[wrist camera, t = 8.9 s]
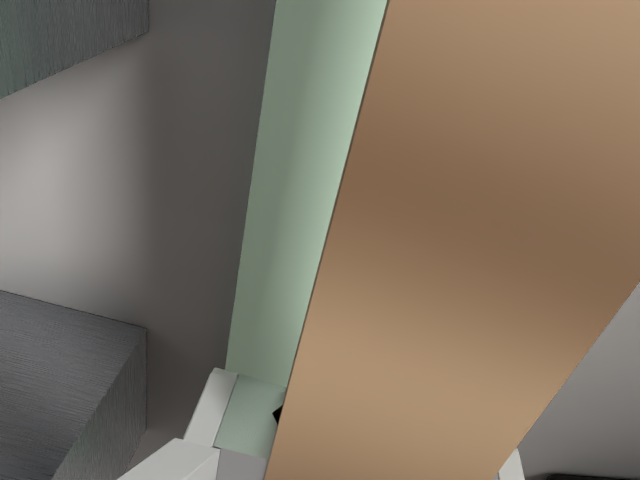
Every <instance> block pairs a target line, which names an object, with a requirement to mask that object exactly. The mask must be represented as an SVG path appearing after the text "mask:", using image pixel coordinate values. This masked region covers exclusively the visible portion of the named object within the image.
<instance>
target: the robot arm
mask: <svg viewBox="0 0 640 480" xmlns="http://www.w3.org/2000/svg"><path fill="white" fill-rule="evenodd" d="M286 390H287V387H284V386H281V385H277V384H274V383H270V382H267V381H263V380H260V379H256V378H253V377H249V376H246V375H242V374H238V373H235V372H231V371H227V370H223V369H220V368H216V367H215V368H214V369H213V371H212V372H211V373H210V375H209V378H208V380H207V382H206V385H205V387H204V390H203V392H202V394H201V397H200V399H199V401H198V404H197V406H196V408H195V411H194V413H193V415H192V418H191V420H190V422H189V425H188V427H187V429H186V432H185V434H184V437H183V439H179V438H173V439H172V440H171V441H169V442H168V443H166V444H165V445H164V446H162V447H161V448H160V449H158V450H157V451H155V452H154V453H153V454H151V455H150V456H148V457H147V458H146V459H144V460H143V461H142V462H140V463H139V464H137V465H136V466H135V467H133V468H132V469H130V470H129V471H128V472H126V473H125V474H124V475H122V476H121V477H119V478H118V479H117V480H264V477H265V474H266V470H267V466H268V462H269V458H270V454H271V450H272V446H273V442H274V438H275V434H276V430H277V426H278V421H279V417H280V414H281V410H282V406H283V402H284V398H285V394H286ZM492 480H525V478H524V473H523V469H522V464H521V460H520V455H519V450H518V449H517V447H516V448H515V450H514V451H513V452H512V454H511V455H510V456H509V458H508V459H507V461H506V462H505V463H504V465H503V466H502V467H501V469H500V470H499V471H498V473H497V474H496V475H495V477H494V478H493V479H492Z"/></svg>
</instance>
